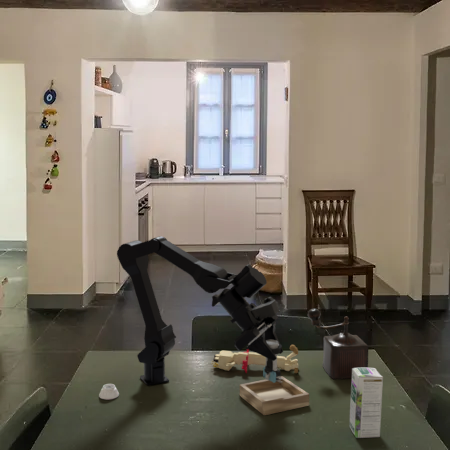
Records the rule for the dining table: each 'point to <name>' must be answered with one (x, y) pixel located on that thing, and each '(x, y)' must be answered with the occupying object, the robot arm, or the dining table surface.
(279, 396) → the oak tray
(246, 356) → the cat figure
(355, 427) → the syrup box
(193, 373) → the dining table surface
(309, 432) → the dining table surface
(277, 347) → the push button
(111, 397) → the small white bowl
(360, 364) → the manual coffee grinder
